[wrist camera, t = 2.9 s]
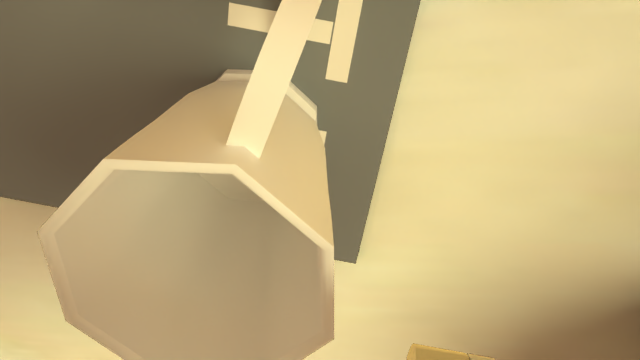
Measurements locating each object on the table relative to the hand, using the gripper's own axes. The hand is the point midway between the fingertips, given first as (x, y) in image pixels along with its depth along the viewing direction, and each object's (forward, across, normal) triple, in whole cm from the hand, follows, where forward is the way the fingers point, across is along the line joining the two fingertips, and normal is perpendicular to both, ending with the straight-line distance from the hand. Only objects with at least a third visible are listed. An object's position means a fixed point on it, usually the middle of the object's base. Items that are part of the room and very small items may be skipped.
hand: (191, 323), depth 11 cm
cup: (+10, 0, 0) cm, 10 cm away
